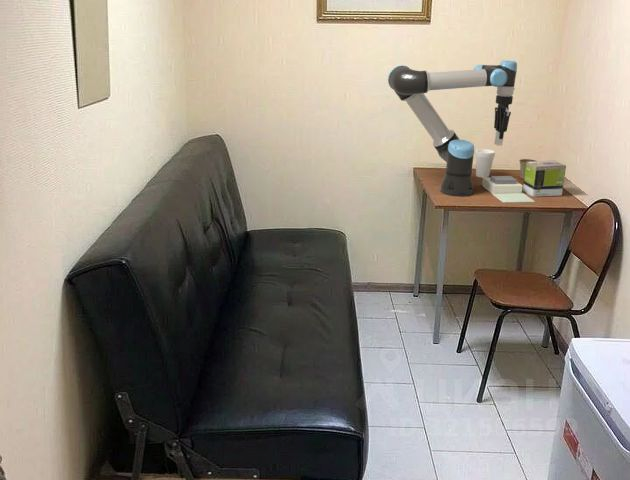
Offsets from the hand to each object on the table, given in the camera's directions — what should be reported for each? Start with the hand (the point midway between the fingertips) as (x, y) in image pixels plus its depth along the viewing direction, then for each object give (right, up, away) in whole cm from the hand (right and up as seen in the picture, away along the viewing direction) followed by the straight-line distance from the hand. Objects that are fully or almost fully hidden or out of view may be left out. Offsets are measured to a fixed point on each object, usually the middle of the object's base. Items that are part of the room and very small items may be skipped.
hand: (498, 144), depth 305 cm
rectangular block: (+1, -18, -5) cm, 19 cm away
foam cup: (-2, -13, +20) cm, 24 cm away
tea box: (+19, -24, -6) cm, 31 cm away
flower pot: (+20, -14, +19) cm, 31 cm away
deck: (+1, -22, -2) cm, 22 cm away
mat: (+3, -27, -15) cm, 31 cm away
